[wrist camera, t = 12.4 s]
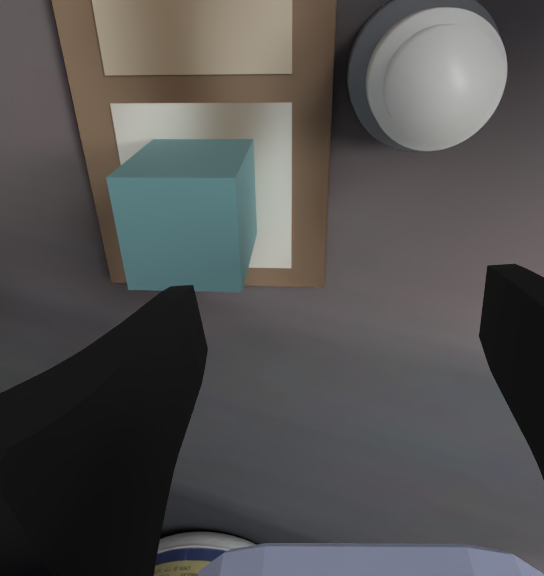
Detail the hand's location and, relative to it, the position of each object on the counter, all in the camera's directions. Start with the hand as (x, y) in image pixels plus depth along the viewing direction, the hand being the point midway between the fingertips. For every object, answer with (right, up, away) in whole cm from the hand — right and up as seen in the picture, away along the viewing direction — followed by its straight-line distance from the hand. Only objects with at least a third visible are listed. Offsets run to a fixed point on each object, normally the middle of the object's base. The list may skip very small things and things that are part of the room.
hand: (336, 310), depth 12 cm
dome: (+3, +7, +4) cm, 9 cm away
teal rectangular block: (-4, +5, +8) cm, 10 cm away
